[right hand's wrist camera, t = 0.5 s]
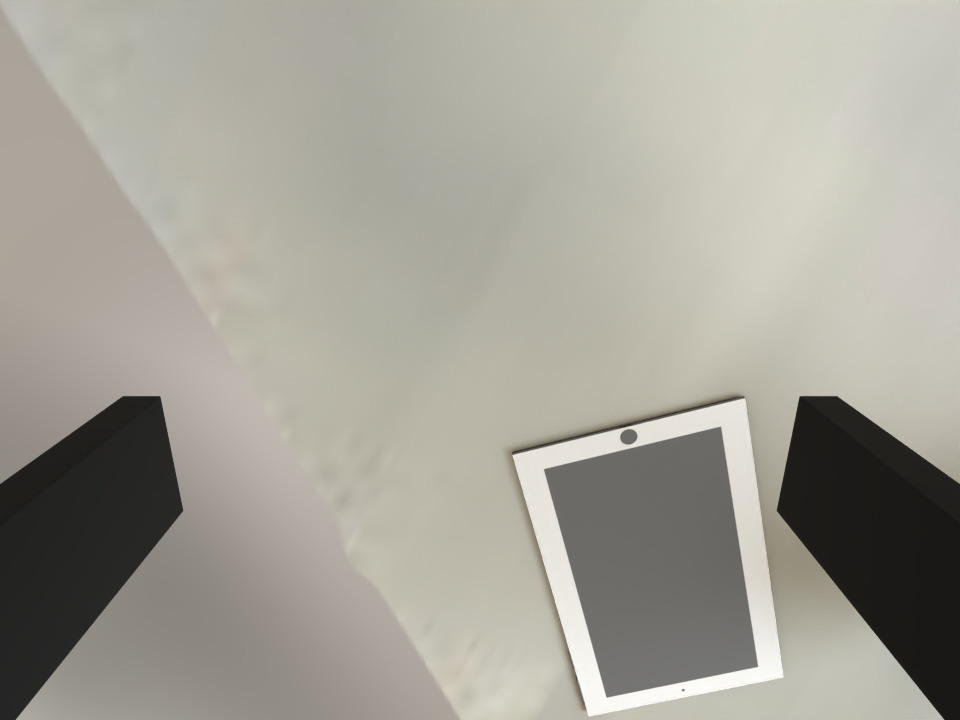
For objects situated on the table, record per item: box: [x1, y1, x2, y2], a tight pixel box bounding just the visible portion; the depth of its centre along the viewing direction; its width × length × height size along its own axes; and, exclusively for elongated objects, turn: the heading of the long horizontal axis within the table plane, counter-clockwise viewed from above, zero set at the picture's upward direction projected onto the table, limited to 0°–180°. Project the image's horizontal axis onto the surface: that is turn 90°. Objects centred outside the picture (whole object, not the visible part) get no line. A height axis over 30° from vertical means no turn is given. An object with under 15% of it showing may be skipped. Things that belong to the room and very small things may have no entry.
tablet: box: [512, 396, 783, 716], centre depth 56 cm, size 32×20×1 cm, turn 16°
